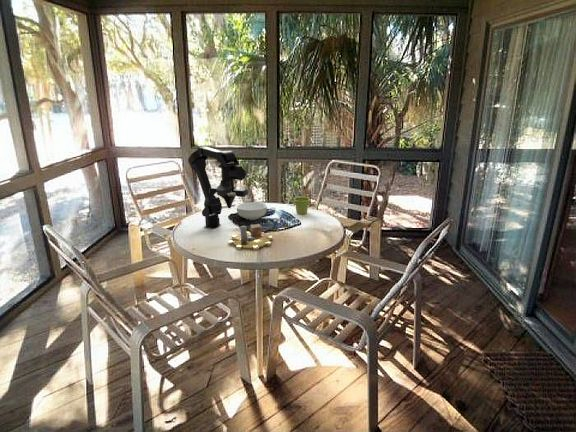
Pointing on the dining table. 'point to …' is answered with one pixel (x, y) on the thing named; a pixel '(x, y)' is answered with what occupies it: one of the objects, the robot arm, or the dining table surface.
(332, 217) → the dining table surface
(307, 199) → the plant pot
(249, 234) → the sprocket
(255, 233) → the block
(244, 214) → the cereal bowl
